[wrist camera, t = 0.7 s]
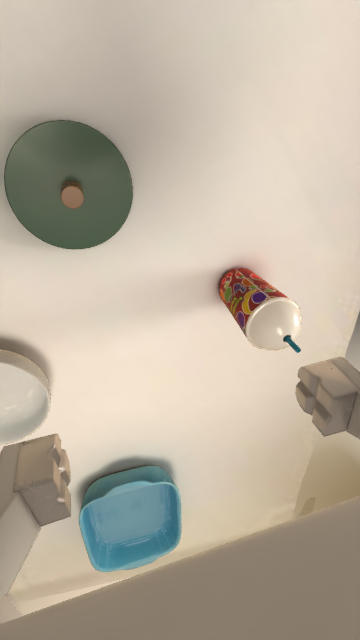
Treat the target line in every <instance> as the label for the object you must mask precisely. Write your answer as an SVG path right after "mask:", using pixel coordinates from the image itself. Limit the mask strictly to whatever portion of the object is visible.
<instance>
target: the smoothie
mask: <svg viewBox="0 0 360 640" xmlns="http://www.w3.org/2000/svg"><path fill="white" fill-rule="evenodd" d="M219 292H220V296H221V299H222V300H223V302H224V303H225V305H226V306H227V308H228V309H229V311H230V312H231V314H232V316H233V317H234V319H235V320H236V322H237V323H238V325H239V326H240V328H241V329H242V331H243V333H244V334H245V336H246V337H247V339H248V341H249V342H250V343H251V344H252V345H253V346H255V347H257V348H259V349H266V350H275V351H276V350H281V349H284V348H286V347H288V346H291V347H292V348H293V349H294V350H295V351H296V352H297V353H299V352H300V351H301V349H300V348H299V347H298V346H297V345H296V344H295V343H294V341H295V340H296V339H297V337H298V335H299V333H300V330H301V318H300V317H301V314H300V308H299V307H298V305H297V304H296V302H294V301H292V300H291V299H289V298H288V297H287V296H285V295H284V294H282V293H281V292H280V291H278V290H277V289H275V288H274V287H273V286H271V285H270V284H269V283H267V282H266V281H264V280H263V279H262V278H260V277H259V276H257V275H256V274H255V273H253V272H252V271H250V270H248V269H244V268H239V269H238V268H237V269H233V270H231V271H229V272H227V273H226V274H225V275H224V276H223V278H222V280H221V282H220V288H219Z"/></svg>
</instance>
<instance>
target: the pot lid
mask: <svg viewBox="0 0 360 640" xmlns="http://www.w3.org/2000/svg"><path fill="white" fill-rule="evenodd" d="M4 182H5V190H6V195H7V198H8V201H9V204H10V206H11V208H12V210H13V212H14V213H15V215H16V217H17V218H18V219H19V221H20V222H21V223H22V224H23V226H24V227H25V228H26V229H28V230H29V231H30V232H31V233H32V234H33V235H35V236H36V237H38V238H39V239H41V240H42V241H44V242H46V243H49V244H51V245H54V246H57V247H61V248H66V249H85V248H90V247H94V246H97V245H99V244H101V243H103V242H105V241H107V240H108V239H110V238H111V237H112V236H113V235H115V234H116V233H117V232H118V231H119V229H120V228H121V227H122V225H123V224H124V222H125V220H126V219H127V217H128V214H129V211H130V208H131V204H132V196H133V187H132V179H131V175H130V172H129V169H128V166H127V164H126V162H125V160H124V158H123V156H122V155H121V153H120V152H119V150H118V149H117V148H116V146H115V145H114V144H113V143H112V142H111V141H110V140H109V139H108V138H106V137H105V136H104V135H103V134H101V133H100V132H98V131H97V130H95V129H93V128H91V127H89V126H87V125H84V124H82V123H79V122H74V121H66V120H57V121H49V122H45V123H42V124H39V125H37V126H35V127H33V128H31V129H30V130H28V131H27V132H26V133H24V134H23V135H22V136H21V137H20V138H19V139H18V140H17V142H16V143H15V144H14V146H13V147H12V149H11V151H10V153H9V156H8V158H7V161H6V166H5V174H4Z"/></svg>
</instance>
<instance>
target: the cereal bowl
mask: <svg viewBox="0 0 360 640" xmlns="http://www.w3.org/2000/svg"><path fill="white" fill-rule="evenodd" d="M50 391H51V390H50V385H49V382H48V380H47V378H46V376H45V374H44V373H43V371H42V370H41V369H40V368H39V366H37V365H36V364H35V363H34V362H32V361H31V360H30V359H28V358H26V357H24V356H22V355H20V354H17V353H15V352H11V351H7V350H1V349H0V445H3V444H8V443H12V442H15V441H18V440H21V439H23V438H25V437H27V436H29V435H31V434H32V433H34V432H35V431H36V430H37V429H38V428H39V427H40V426H41V425H42V424H43V423H44V421H45V420H46V418H47V416H48V413H49V410H50V403H51V393H50Z"/></svg>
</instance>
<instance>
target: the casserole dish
mask: <svg viewBox="0 0 360 640" xmlns="http://www.w3.org/2000/svg"><path fill="white" fill-rule="evenodd" d="M79 526H80V530H81V534H82V537H83V540H84V543H85V547H86V550H87V553H88V556H89V559H90V562H91V564H92V566H93V567H94V568H95V569H96V570H98V571H101V572H111V571H117V570H129V569H134V568H138V567H141V566H144V565H147V564H149V563H151V562H153V561H155V560H156V559H158V558H159V557H161V556H163V555H166V554H167V553H169V552H171V551H172V550H173V549H175V547H176V546H177V545H178V543H179V541H180V538H181V500H180V493H179V490H178V488H177V486H176V485H175V484H174V482H173V481H172V479H171V478H170V476H169V475H168V474H167V473H166V472H165V471H164V470H163V469H162V468H160V467H157V466H143V467H138V468H134V469H129V470H126V471H122V472H118V473H114V474H111V475H108V476H105V477H102V478H100V479H98V480H96V481H95V482H94V483H93V484H92V485H91V486H90V487H89V488H88V490H87V492H86V494H85V496H84V500H83V503H82V507H81V511H80V514H79Z"/></svg>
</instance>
